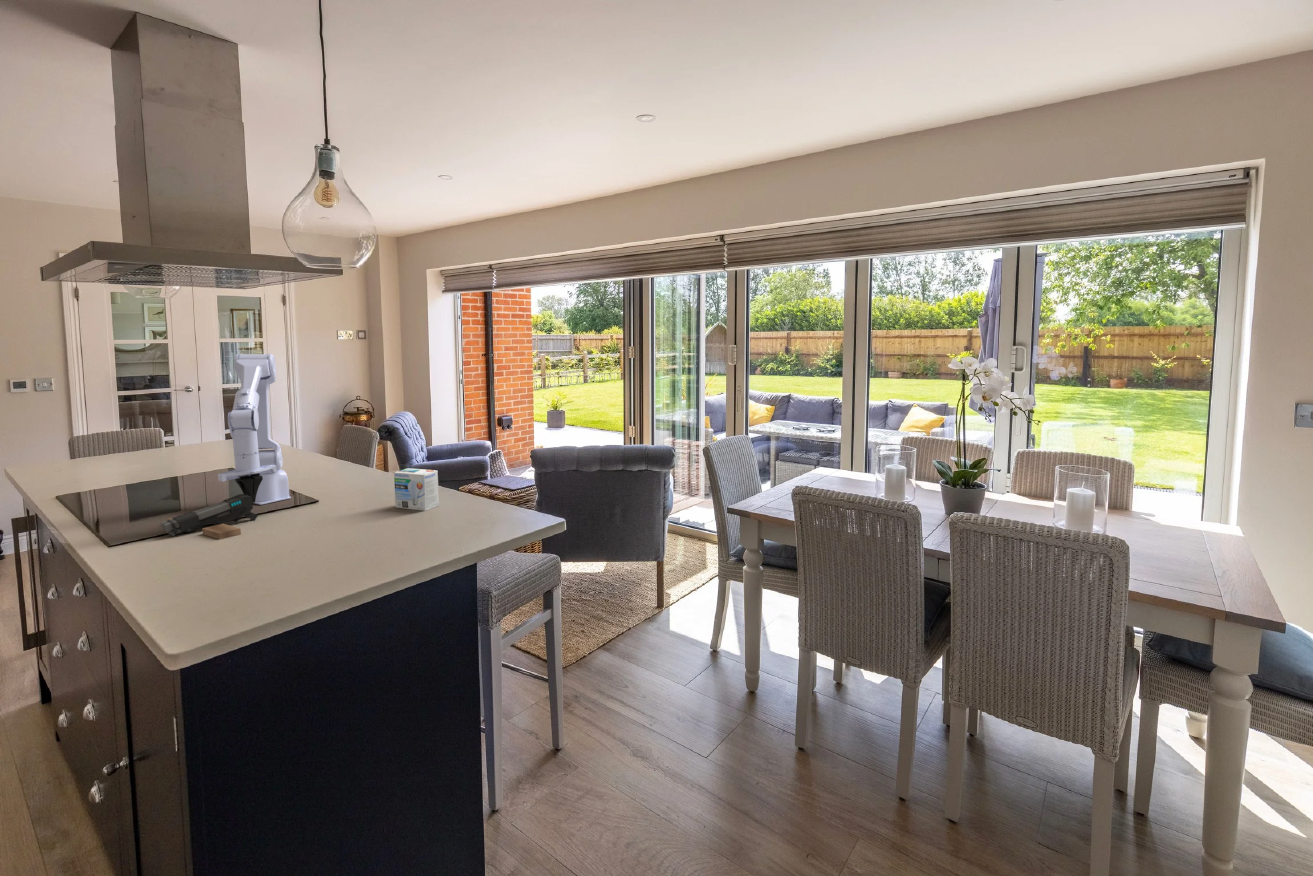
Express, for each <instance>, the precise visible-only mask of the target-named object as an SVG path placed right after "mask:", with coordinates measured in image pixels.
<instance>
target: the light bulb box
mask: <svg viewBox="0 0 1313 876" xmlns="http://www.w3.org/2000/svg"><path fill="white" fill-rule="evenodd" d="M438 473H439V472H438V469H437V470H435V469H426V468H425V469H424V468H423V469H421V468H411V467H408V468H404V469H401V470H397V471H395V472H393V476H394V477H393V479H394V497H395V499H394V501H395V502H394V503H395V508H398V509H406V510H414V511H424V512H426V511H428V510H432V509H434V508H436V507H438V506H440V500H439V475H438Z"/></svg>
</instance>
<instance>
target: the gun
mask: <svg viewBox="0 0 1313 876" xmlns="http://www.w3.org/2000/svg"><path fill="white" fill-rule="evenodd" d="M254 505H255V503H253V501H252V498H251V496H248V495H246V494H244V493H240V494H237V495H235V496H232V497H229V498H226V499H224V500H222V501H219V502H217V503H214V504H211V505H208V506H205V507H202V508H199V509H196V510H194V511H192V510H191V511H188V512H185V513H182V514H180V515H176V516H173V517H172V518H173V519H170V520H168V519H167V520H164V521H162V522H160V526H161V528H162V529H163V530H164V531H165V532H167V534H168V535H170V536H172V537H175V536H176V535H178V534H180V533H182V532H183V533H184V532H185V533H190V532H193V531H196V530H198V529H202V528H203V527H204V526H208V525H210V524H212V526H215V525H220V524H225V523H228V522H231V521H232V522H235V523H237V522H239V520H240V519H241V518H243V517H245V518H247V519H250V520H253V521H256V519H257V518H258V516H259V515H258V514H256V513H255V512H252V510H253V508H254Z"/></svg>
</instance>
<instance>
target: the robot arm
mask: <svg viewBox="0 0 1313 876" xmlns="http://www.w3.org/2000/svg"><path fill="white" fill-rule="evenodd" d="M233 364H234V371H235V374H237V376H238V377H237V378H238V379H239V380H240V384H241V385H240V386H241V387H240V389H238V390H237V391H236V393H235V396H234V401H233V406H232V410H231V411H228V413H227V425H228V429H229V434H230V437H231V438H232V445H233V456H234V466H235V467H234V468H235V469H231V470H229V471H225V472H222V473H221V472H220V473H217V477H218V481H219V482H222V483H223V482H227V481H231V480H234V481H235V482H236V484H237V485H238V486H239V488H240V489H241V491H242V494H246V495H248V496H251V498H252V501H253V504H254V505H255V504H256V505H260V506H261V505H267V504H271V503H274V502H279V501H284V500H289V499H291V498H292V496H290V489H289V488H290V487H289V485H290V484H289V478H288V474H287V473H286V471H285V470H284V469H282V468H283V461H284V459H283V453H282V446H281V444H280V443H278V442H277V441H275V440H273V439H272V438H271V427H270V426H271V424H270V423H271V421H270V418H271V417H270V399H269V398H270V395H269V394H270V393H269V390H270V387H271V385H272V384H274V383H275V382H276V380H277V367H276V366H277V364H276V357H275V356H274V354H272V353H263V354H262V353H261V354H259V353H254V354H253V353H236V355H234V359H233Z"/></svg>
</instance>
